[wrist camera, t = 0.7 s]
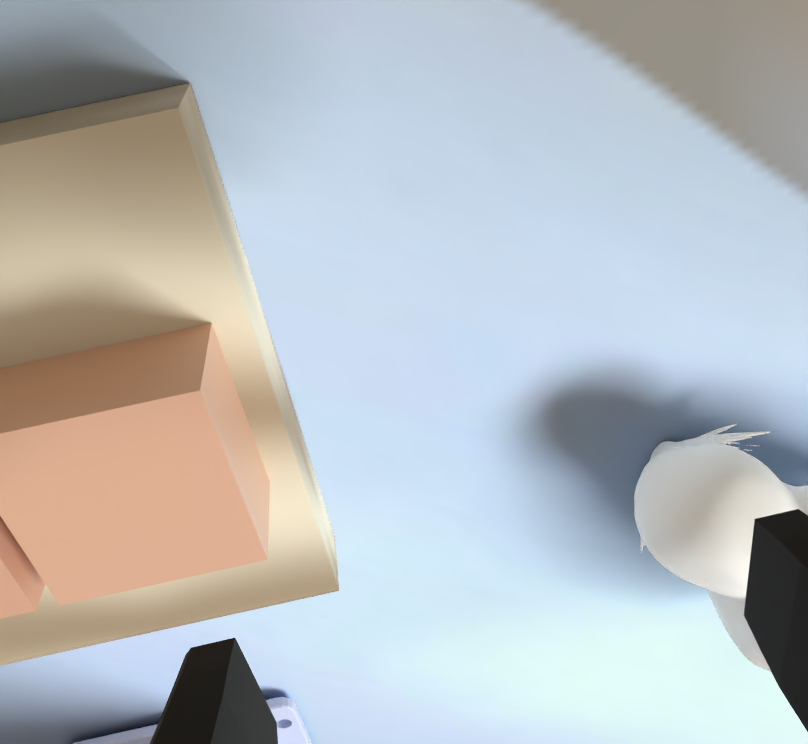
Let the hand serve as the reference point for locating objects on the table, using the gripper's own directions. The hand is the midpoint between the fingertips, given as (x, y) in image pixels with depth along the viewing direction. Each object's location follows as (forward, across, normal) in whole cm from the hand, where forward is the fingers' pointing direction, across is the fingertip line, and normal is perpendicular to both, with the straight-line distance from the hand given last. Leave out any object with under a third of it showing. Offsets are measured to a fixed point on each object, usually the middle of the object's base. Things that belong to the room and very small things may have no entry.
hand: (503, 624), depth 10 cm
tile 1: (+7, +6, 0) cm, 10 cm away
